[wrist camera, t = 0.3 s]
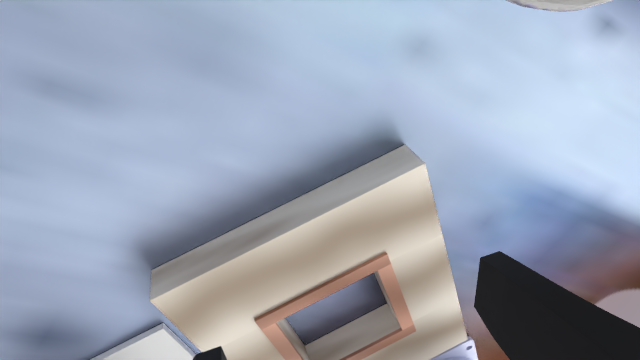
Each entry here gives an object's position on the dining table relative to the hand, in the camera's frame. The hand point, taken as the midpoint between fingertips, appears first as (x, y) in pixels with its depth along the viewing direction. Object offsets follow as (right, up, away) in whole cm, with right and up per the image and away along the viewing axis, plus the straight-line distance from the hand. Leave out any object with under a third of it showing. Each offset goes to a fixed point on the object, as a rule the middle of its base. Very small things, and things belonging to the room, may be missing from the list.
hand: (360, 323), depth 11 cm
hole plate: (0, -3, +14) cm, 15 cm away
